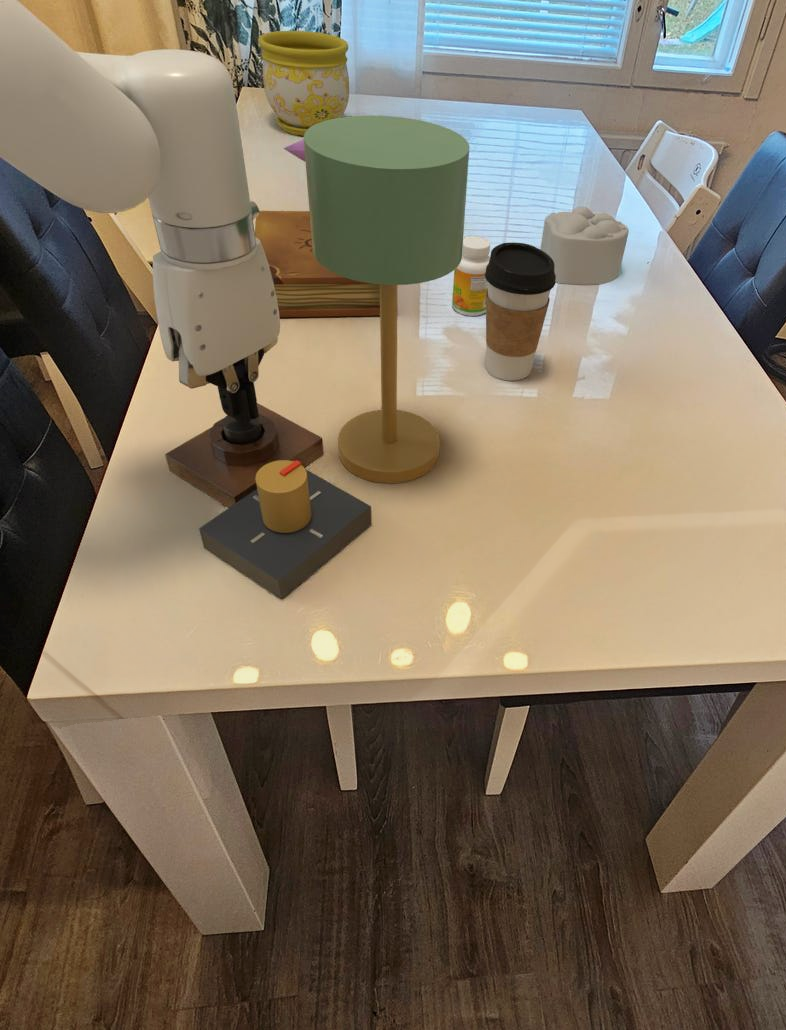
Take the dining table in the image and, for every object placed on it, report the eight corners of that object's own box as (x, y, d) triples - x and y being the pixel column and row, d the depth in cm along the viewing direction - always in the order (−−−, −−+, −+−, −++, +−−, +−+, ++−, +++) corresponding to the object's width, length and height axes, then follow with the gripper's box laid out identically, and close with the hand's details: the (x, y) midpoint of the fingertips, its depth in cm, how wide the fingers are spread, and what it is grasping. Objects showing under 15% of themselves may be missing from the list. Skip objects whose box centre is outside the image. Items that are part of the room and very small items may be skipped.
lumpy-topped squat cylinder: (535, 255, 117) (542, 202, 111) (609, 256, 120) (620, 204, 114) (548, 284, 110) (557, 229, 104) (627, 285, 112) (640, 231, 106)
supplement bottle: (446, 300, 103) (450, 235, 97) (481, 297, 105) (487, 232, 98) (458, 318, 100) (463, 251, 93) (493, 315, 102) (501, 249, 95)
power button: (242, 450, 70) (239, 436, 69) (217, 436, 71) (214, 422, 70) (269, 433, 72) (267, 420, 71) (244, 420, 73) (242, 406, 72)
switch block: (237, 513, 69) (231, 482, 66) (169, 470, 72) (160, 439, 69) (323, 453, 76) (321, 424, 73) (258, 417, 80) (253, 388, 77)
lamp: (398, 507, 71) (400, 182, 49) (303, 454, 76) (267, 135, 54) (471, 446, 79) (500, 143, 57) (381, 401, 84) (377, 106, 62)
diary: (395, 316, 99) (395, 277, 95) (257, 319, 95) (251, 278, 91) (380, 246, 115) (379, 210, 111) (261, 246, 111) (256, 209, 107)
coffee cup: (517, 345, 96) (531, 236, 85) (553, 377, 91) (573, 265, 81) (464, 359, 92) (473, 247, 82) (499, 392, 87) (513, 278, 77)
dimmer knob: (287, 540, 63) (280, 497, 59) (252, 518, 65) (244, 475, 61) (321, 514, 66) (317, 471, 62) (287, 493, 67) (281, 450, 64)
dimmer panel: (281, 599, 62) (278, 579, 60) (203, 547, 65) (197, 527, 63) (371, 524, 69) (371, 504, 67) (297, 481, 73) (294, 461, 71)
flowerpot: (368, 131, 157) (366, 44, 146) (306, 146, 146) (298, 54, 135) (313, 111, 164) (307, 27, 153) (250, 124, 154) (239, 35, 142)
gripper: (244, 196, 63) (270, 370, 76) (95, 246, 54) (153, 436, 67) (306, 220, 61) (322, 397, 73) (159, 278, 51) (207, 469, 64)
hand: (241, 415), depth 70 cm, fingers closed
